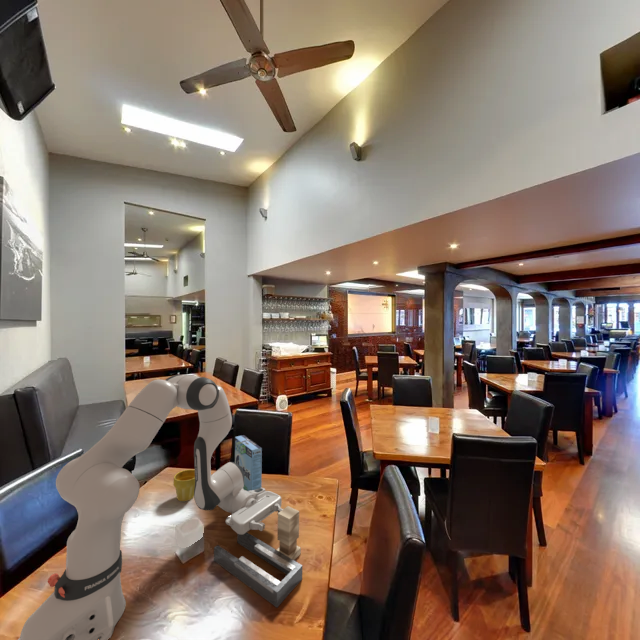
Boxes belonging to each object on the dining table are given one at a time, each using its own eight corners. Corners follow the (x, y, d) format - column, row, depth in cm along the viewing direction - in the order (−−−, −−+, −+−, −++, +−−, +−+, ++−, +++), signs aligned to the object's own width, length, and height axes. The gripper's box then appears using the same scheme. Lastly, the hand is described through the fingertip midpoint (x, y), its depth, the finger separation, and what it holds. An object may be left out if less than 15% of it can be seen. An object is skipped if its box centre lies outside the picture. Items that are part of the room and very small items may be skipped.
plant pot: (203, 495, 130) (204, 473, 130) (181, 507, 121) (182, 483, 121) (190, 488, 136) (190, 466, 136) (168, 498, 127) (168, 476, 127)
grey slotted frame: (276, 607, 78) (277, 592, 78) (213, 560, 94) (213, 547, 94) (302, 579, 87) (302, 565, 87) (240, 540, 103) (240, 528, 103)
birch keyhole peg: (288, 565, 92) (289, 520, 93) (274, 557, 96) (275, 513, 96) (300, 553, 97) (301, 510, 98) (287, 545, 101) (287, 504, 101)
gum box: (261, 501, 126) (262, 447, 127) (250, 505, 123) (251, 450, 124) (243, 482, 142) (244, 434, 142) (233, 485, 139) (234, 436, 139)
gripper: (222, 511, 100) (250, 527, 92) (265, 485, 117) (292, 497, 109) (222, 530, 100) (250, 547, 92) (265, 501, 117) (292, 514, 109)
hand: (273, 520), depth 101 cm, fingers open, 8 cm apart
